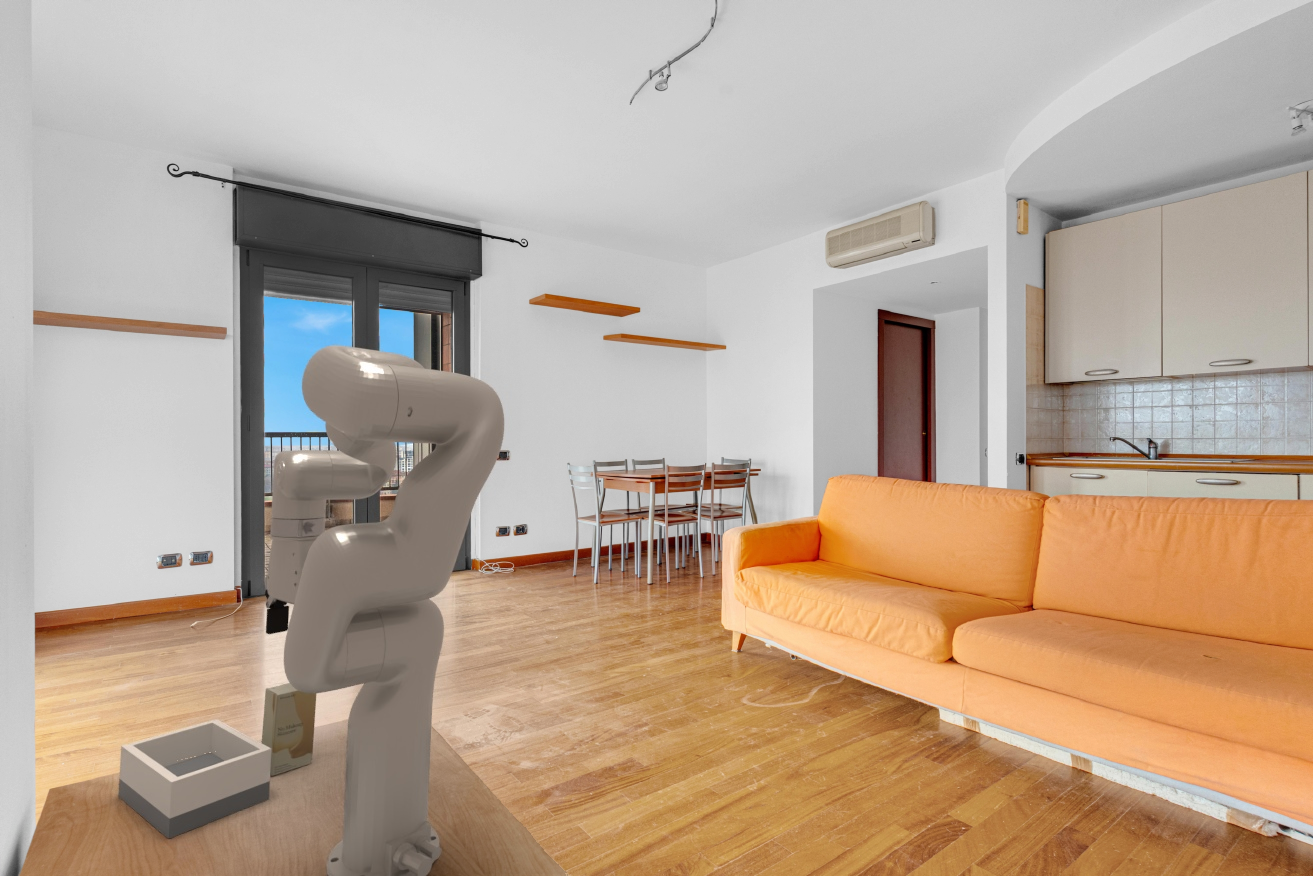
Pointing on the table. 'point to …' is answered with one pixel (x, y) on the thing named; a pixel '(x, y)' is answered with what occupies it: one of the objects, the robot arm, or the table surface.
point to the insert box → (193, 776)
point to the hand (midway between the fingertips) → (292, 638)
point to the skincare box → (288, 727)
